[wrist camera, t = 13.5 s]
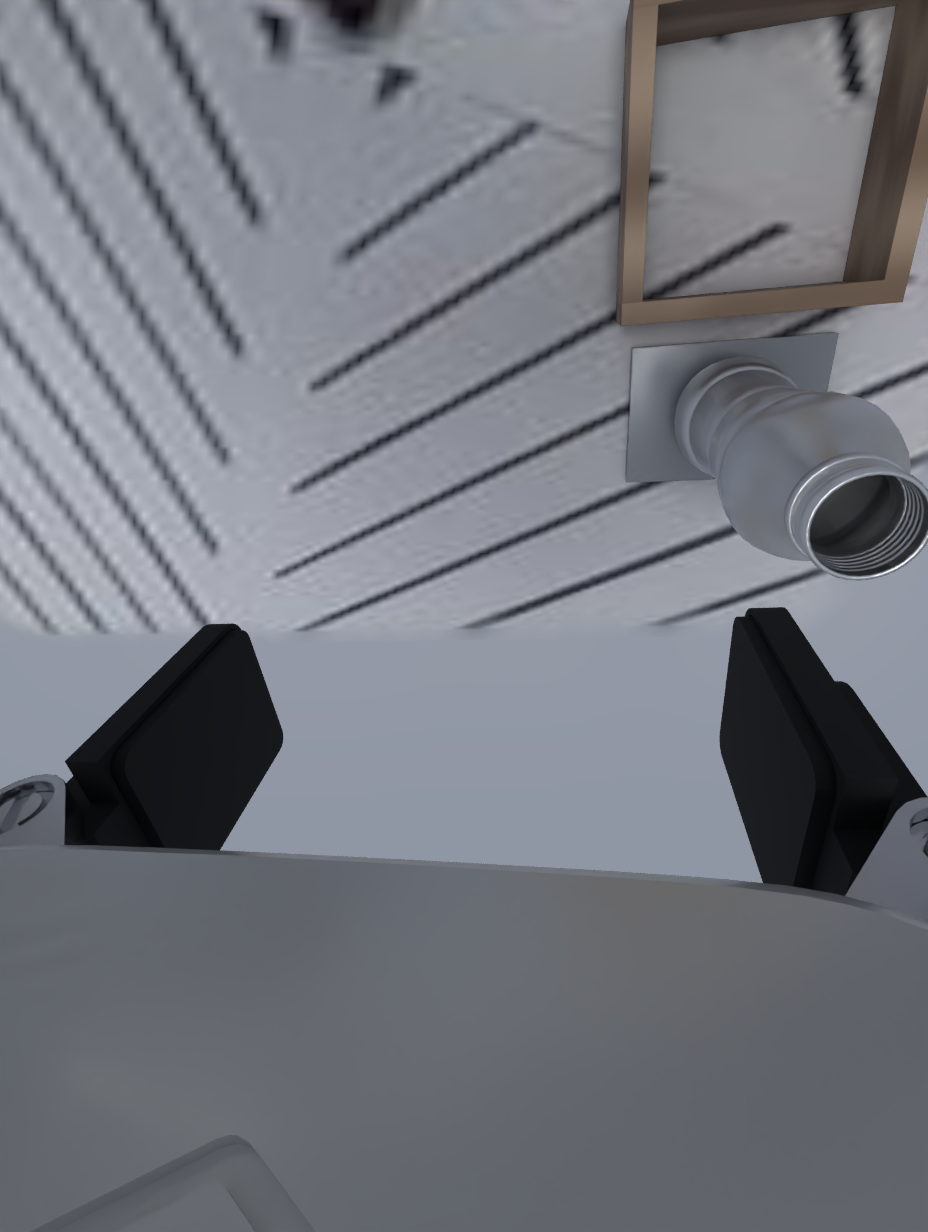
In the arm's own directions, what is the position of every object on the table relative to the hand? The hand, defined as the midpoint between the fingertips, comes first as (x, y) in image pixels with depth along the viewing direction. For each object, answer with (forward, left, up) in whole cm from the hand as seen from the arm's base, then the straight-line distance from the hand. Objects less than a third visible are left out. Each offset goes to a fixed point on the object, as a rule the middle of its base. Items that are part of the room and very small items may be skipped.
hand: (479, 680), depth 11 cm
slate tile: (+1, +11, -31) cm, 32 cm away
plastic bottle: (+1, +11, -30) cm, 32 cm away
